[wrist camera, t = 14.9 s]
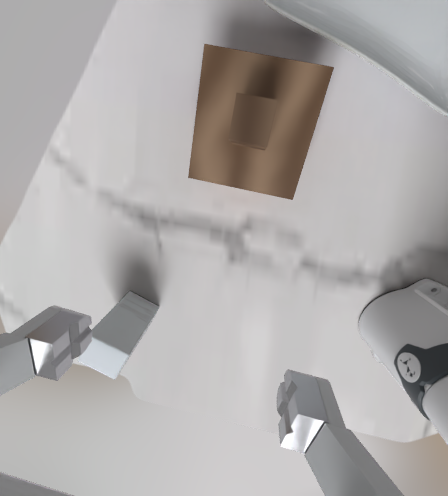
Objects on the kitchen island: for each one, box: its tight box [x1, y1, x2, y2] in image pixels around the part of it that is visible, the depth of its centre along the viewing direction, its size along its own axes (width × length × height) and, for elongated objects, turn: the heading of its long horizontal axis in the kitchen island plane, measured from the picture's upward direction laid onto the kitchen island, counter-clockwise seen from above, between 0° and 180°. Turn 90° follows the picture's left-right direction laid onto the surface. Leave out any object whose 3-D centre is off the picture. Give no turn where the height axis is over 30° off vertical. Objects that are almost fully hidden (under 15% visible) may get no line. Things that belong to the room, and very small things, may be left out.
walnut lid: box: [188, 44, 334, 200], centre depth 23 cm, size 14×14×6 cm
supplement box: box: [78, 291, 159, 380], centre depth 40 cm, size 7×7×13 cm
